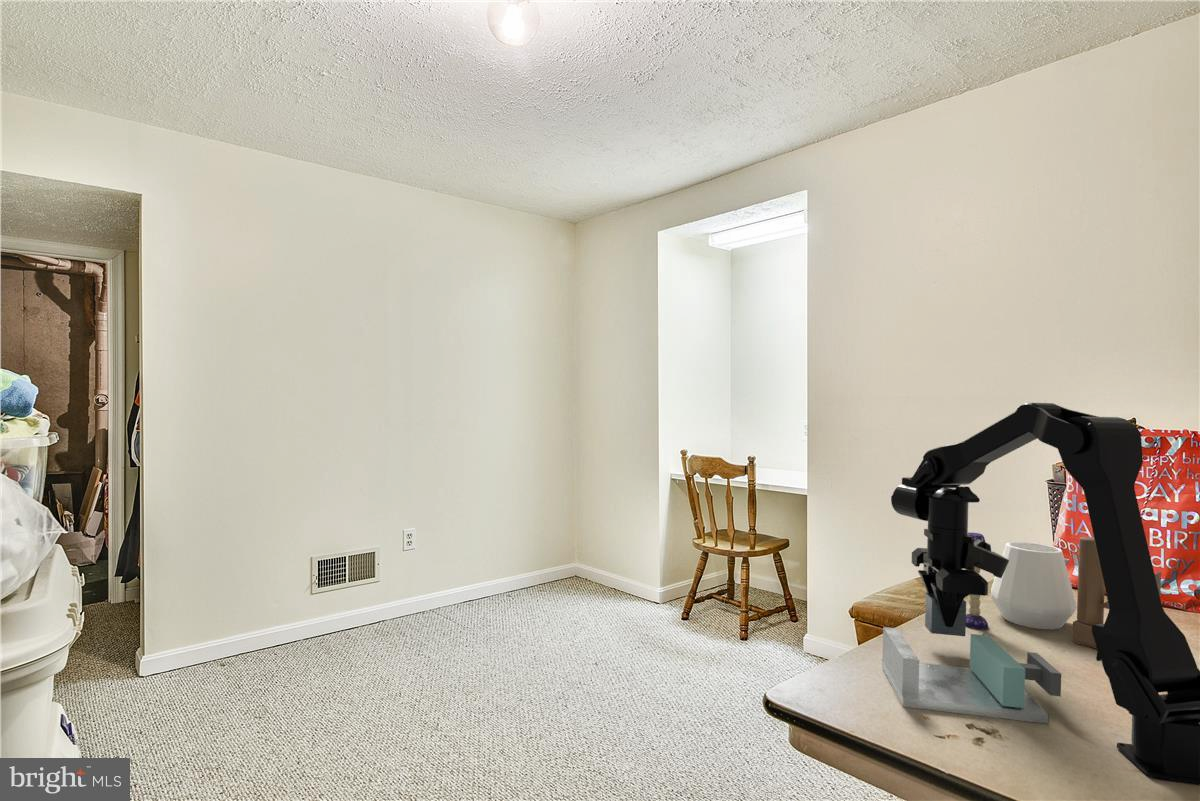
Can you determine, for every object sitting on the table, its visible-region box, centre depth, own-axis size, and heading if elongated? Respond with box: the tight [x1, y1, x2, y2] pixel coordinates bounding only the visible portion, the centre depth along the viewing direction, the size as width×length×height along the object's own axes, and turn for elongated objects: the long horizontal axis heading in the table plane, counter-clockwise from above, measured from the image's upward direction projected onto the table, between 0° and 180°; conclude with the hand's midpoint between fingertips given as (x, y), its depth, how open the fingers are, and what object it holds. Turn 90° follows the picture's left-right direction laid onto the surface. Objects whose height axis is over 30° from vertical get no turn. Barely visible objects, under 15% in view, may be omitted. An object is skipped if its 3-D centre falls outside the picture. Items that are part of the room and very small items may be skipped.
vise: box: [880, 626, 1049, 724], centre depth 89 cm, size 13×17×6 cm
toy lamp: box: [966, 532, 989, 630], centre depth 117 cm, size 5×5×17 cm
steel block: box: [924, 592, 967, 637], centre depth 104 cm, size 4×5×6 cm
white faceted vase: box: [990, 541, 1077, 631], centre depth 120 cm, size 13×13×14 cm
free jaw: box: [969, 633, 1062, 708], centre depth 88 cm, size 12×8×5 cm, turn 168°
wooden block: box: [1071, 536, 1162, 650], centre depth 106 cm, size 4×11×18 cm, turn 35°
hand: (945, 622), depth 104 cm, fingers closed on steel block, 3 cm apart
